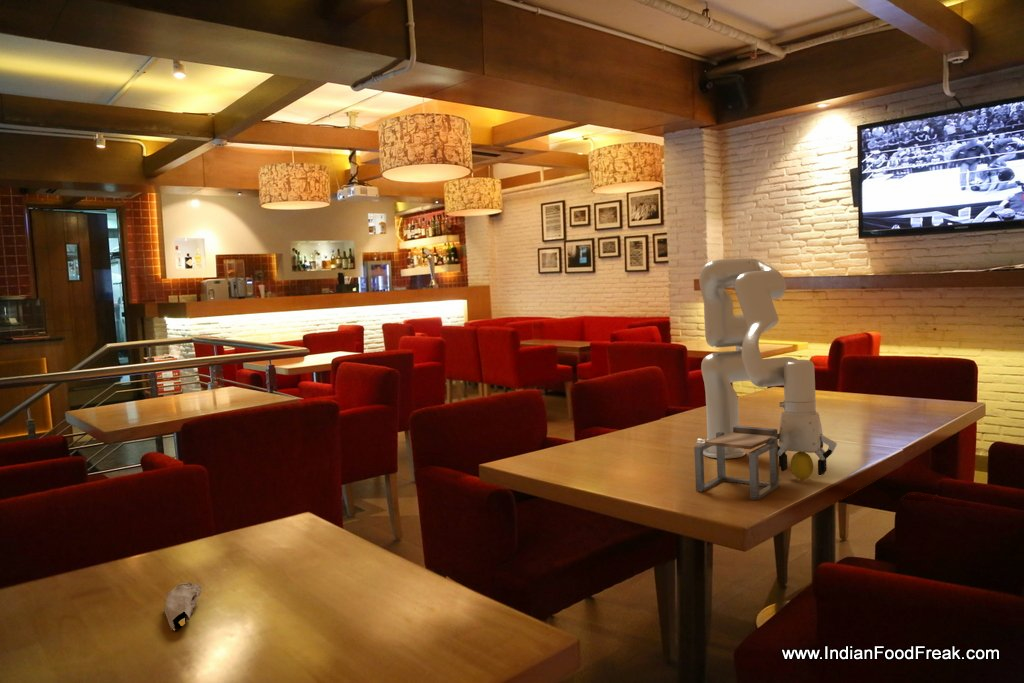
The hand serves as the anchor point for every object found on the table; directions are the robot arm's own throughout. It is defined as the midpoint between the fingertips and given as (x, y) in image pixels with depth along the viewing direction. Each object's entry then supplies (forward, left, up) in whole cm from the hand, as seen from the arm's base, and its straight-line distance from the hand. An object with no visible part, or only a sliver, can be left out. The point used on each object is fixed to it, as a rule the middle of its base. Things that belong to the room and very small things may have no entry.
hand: (802, 472), depth 190 cm
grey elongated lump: (-60, -135, -3) cm, 148 cm away
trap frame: (-11, -15, -2) cm, 19 cm away
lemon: (0, 0, -3) cm, 3 cm away
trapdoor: (-11, -11, +8) cm, 18 cm away
